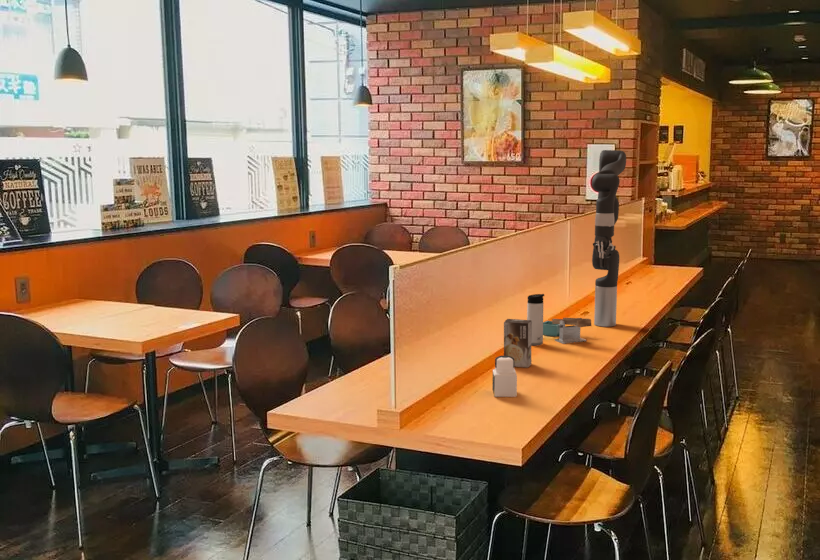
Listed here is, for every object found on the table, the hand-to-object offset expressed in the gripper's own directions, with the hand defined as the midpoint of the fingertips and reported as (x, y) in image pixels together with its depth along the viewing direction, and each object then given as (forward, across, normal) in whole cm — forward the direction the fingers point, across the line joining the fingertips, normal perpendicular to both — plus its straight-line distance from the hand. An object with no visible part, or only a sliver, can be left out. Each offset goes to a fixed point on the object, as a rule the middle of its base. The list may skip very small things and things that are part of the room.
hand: (603, 267), depth 344 cm
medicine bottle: (+29, +55, -74) cm, 97 cm away
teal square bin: (+29, -14, -15) cm, 35 cm away
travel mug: (+29, -1, -30) cm, 42 cm away
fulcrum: (+29, 0, -15) cm, 32 cm away
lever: (+23, +1, -11) cm, 25 cm away
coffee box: (+29, +25, -53) cm, 65 cm away
